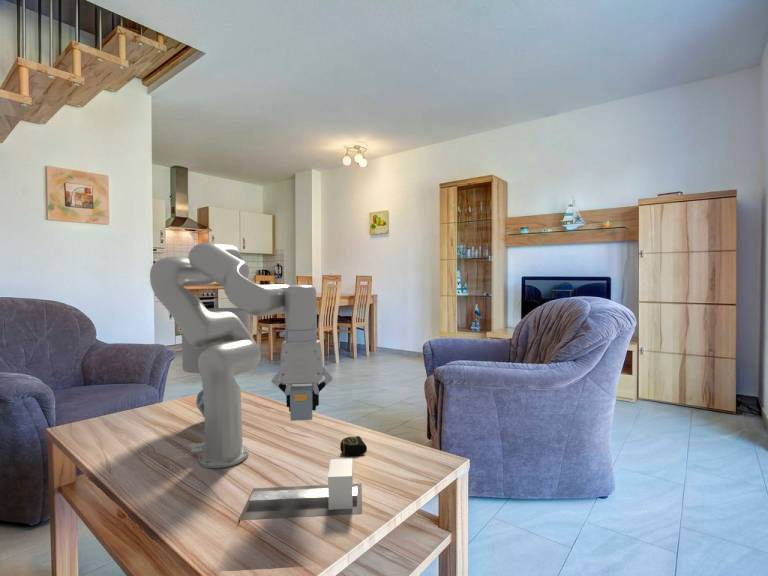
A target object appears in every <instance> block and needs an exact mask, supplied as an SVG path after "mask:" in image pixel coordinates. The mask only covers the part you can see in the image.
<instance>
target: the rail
mask: <svg viewBox="0 0 768 576" xmlns="http://www.w3.org/2000/svg"><path fill="white" fill-rule="evenodd" d="M249 497H250V496H249ZM352 498H353V502H357V487H353V494H352ZM248 499H249V498H248ZM311 504H329V502H328V488H322V489H300V490H279V491H257V492H253V493H252V495H251V497H250V499H249V507H270V506H290V505H311Z"/></svg>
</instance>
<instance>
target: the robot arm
mask: <svg viewBox="0 0 768 576" xmlns="http://www.w3.org/2000/svg"><path fill="white" fill-rule="evenodd" d="M249 275H250V268H249V265H248V263H247V262H246V261H244V260H243V257H242V254H241V252H240V250H239V249H238V248H237V247H236V246H234V245H232V244H229V243H220V242H219V243H216V242H201V243H198V244H196V245H194V246H193V247H192V248H190V251H189V253H188V256H167V257H163V258H160V259H158V260H156V261H154V263H152V266H151V267H150V271H149V281H150V283H149V284H150V286H151V288H152V292H153V294H154V296H155V297H156V299H157V300H158V301H159V303H160V304H161V305H163V307H164V308H165V309H166V310H167V312H168V313H169V314H170V315H171V316H172V318H173V320H174V321H175V323H176V325H177V326H178V328H179V329H180V331H181V333H182V332H183V334H184V336H185V337H186V339H187V340H188V341H189V343H190V344H191V345H193V346H194V347H207V346H210V347H208V348H206V349H205V350H204V351H203V352H202V353H201V355H200V357H199V360H198V366H199V371H200V373H199V375H200V379H201V386H202V385H203V387H202V390H203V396H204V416H203V419H204V421H205V423H204V441H203V442H202V443H199V442H196V443H195V442H194V443H193V442H192V443H190V446H189V448H190V449H189V451H191V454H194V455H195V454H200V456H199V457H198V458H199V459H198V460H199V465H200V466H202V467H204V468H207V469H222V468H223V469H224V468H228V467H232V466H234V465H238V464H241V463H242V462H243V461H244V460H246V459H247V458H248V457H249V448H248V447H247V446H245V445H243V417H242V415H243V412H242V410H243V409H242V393H241V391H242V390H241V388H240V386H239V384H238V383H237V381H236V379H235V376H237V375H240V374H243V373H246V372H249V371H252V370H254V369H255V368H256V367H257V366H258V365H259V364H260V361H261V358H262V357H261V350H260V347H259V345H258V343H257V341H256V340H255V339H254V337H253V336H252V335H251V332H250V333H249V332H248V330H247V329H246V327H245V326H244V324H243V323H242V322H241V320H240V319H239V318H238V317H237V316H236V315H235V314H233V313H231V312H228V311H218V312H211V311H208V310H207V309H208V308H206V305H204V303H203V301H201V299H200V298H199V297H198V296H197V295H196V294H195V293H193V292H192V291H190V290H189V289H188V288H186V287H193V286H194V287H196V286H205V285H207V286H208V285H211V284H212V283H216V284H218V285H219V286H222V287H223V291H224V294H225V295H226V298H227V300H228V301H229V302H230V303H231V304H232V305H233V306H235V307H236V308H240V309H241V310H243V311H245V312H246V313H248V314H250V316H255V317H266V316H271V315H280V314H281V315H282V314H284V316H285V317H284V318H285V319H284V322H285V329H284V330H282V331H279V338H284V341H283V342H282V343H281V349H280V350H281V351H280V361H279V362H280V363H279V369H278V371H277V373H276V374H275V375H274V377H272V379H271V383H272V384H273V385H275V386H276V387H277V388H278V389H280V390H281V391H282V392H283V393H284V395H285V397H286V408H288V412H289V413H290V390H291V388H292V386H293V384H312V387H313V409H312V412H313V411H316V410H317V406H319V405H320V392H321V391H322V390H323V389H324V388H325V387H326V386H327V385H328V384H329V383H331V382H332V381H333V376H332V374H330V372H329V371H328V370H327V369H326V368H325V367H324V360H323V359H324V358H323V350H322V344H321V340H319V339H318V319H317V318H318V316H317V310H318V309H317V307H318V306H317V290H316V288H315V286H313V285H310V284H296V285H295V284H294V285H292V284H286V283H277V284H276V283H272V284H270V283H269V284H268V283H267V284H257V283H255V282H253V281H251V280H249V279H248V278H249ZM323 377H324V379H323Z"/></svg>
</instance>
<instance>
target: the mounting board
mask: <svg viewBox="0 0 768 576" xmlns="http://www.w3.org/2000/svg"><path fill="white" fill-rule="evenodd" d="M353 487H357V502H353V509H333V510H329V504H311V505H290V506H270V507H249V499H250V497H251V495H252V493H253V492H257V491H279V490H300V489H322V488H328V484H318V485H317V484H316V485H298V486H297V485H296V486H295V485H294V486H277V487H276V486H273V487H256V488H255V487H253V488H252V491H251V492H250V494H249V496H248V498H247V501H246V503H245V506H244V507H243V509H242V511H241V514H240V516H239V517H238V519H237V520H238V521H237V522H238V525H240V523H241V521H249V520H251V521H252V520H270V519H272V520H273V519H286V518H287V519H288V518H289V519H290V518H306V517H307V518H309V517H326V516H327V517H329V516H332V517H333V516H347V515H348V516H349V515H362V514H363V496H362V495H363V493H362V492H363V489H362V488H363V486H362V483H359V482H357V483H353Z"/></svg>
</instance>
